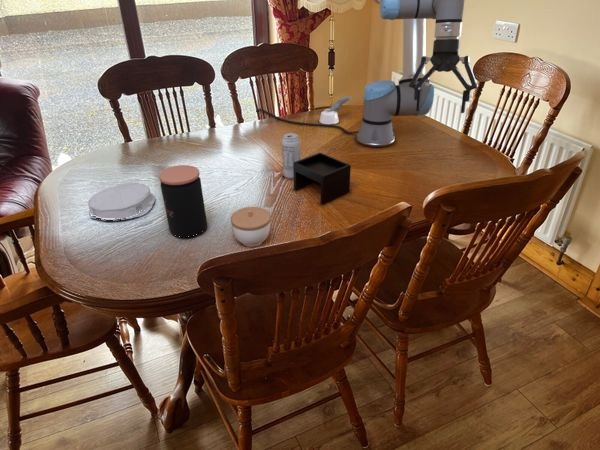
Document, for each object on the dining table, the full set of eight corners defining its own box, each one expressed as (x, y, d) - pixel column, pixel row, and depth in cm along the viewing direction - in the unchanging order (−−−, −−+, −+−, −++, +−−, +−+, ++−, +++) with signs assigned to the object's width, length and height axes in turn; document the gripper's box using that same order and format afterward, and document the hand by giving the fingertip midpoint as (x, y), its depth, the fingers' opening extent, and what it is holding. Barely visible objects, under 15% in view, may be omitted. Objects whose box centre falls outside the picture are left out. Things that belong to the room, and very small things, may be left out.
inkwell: (315, 120, 207) (315, 98, 202) (346, 113, 215) (347, 92, 209) (326, 126, 200) (326, 103, 195) (358, 118, 208) (359, 97, 203)
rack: (293, 189, 150) (293, 162, 144) (320, 178, 156) (320, 152, 151) (323, 204, 141) (323, 176, 136) (349, 192, 147) (350, 165, 142)
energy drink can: (304, 176, 158) (303, 135, 150) (292, 181, 155) (290, 140, 147) (291, 171, 162) (290, 131, 154) (279, 176, 158) (277, 136, 150)
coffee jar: (173, 221, 134) (162, 165, 125) (209, 219, 135) (201, 163, 125) (167, 241, 125) (155, 183, 116) (206, 238, 126) (197, 181, 116)
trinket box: (277, 233, 127) (276, 204, 122) (262, 254, 119) (260, 224, 114) (243, 227, 130) (240, 199, 125) (226, 247, 122) (222, 218, 117)
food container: (118, 230, 130) (112, 210, 126) (75, 213, 139) (69, 193, 136) (169, 201, 144) (165, 182, 141) (127, 187, 153) (122, 168, 150)
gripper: (402, 39, 136) (397, 111, 144) (490, 37, 126) (480, 115, 133) (408, 39, 142) (403, 108, 150) (493, 37, 132) (483, 111, 140)
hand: (440, 111), depth 142 cm, fingers open, 13 cm apart
